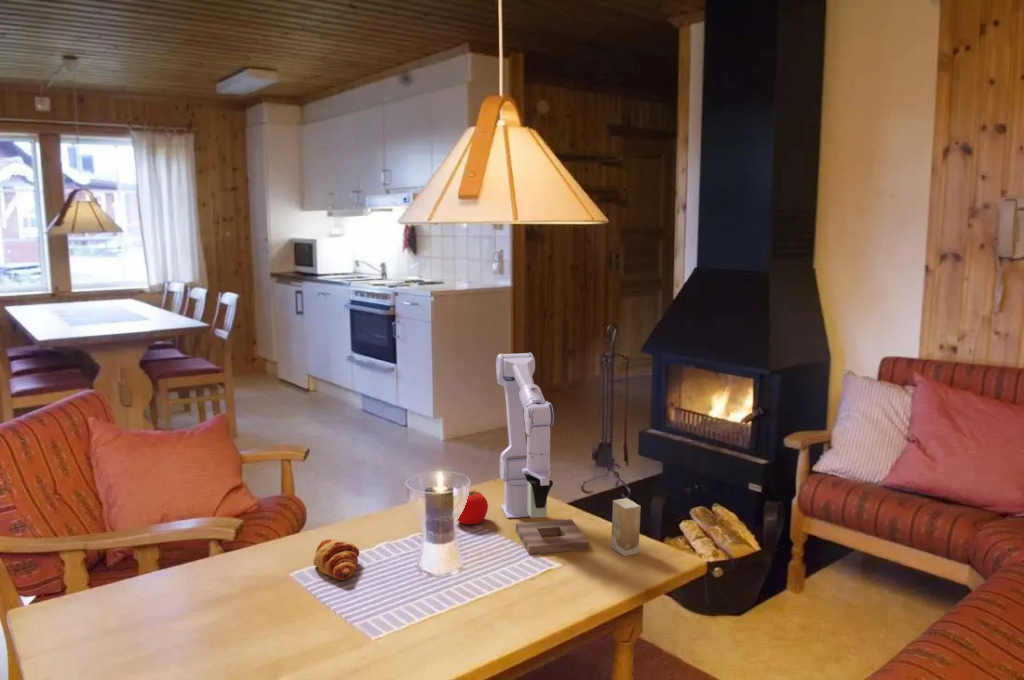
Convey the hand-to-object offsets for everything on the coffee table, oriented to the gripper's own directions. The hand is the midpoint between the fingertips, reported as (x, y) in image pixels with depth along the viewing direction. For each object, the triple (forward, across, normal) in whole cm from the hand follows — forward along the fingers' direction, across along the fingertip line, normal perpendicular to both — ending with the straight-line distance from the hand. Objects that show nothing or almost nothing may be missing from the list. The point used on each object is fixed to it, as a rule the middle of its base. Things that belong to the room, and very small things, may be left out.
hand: (538, 504), depth 196 cm
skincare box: (+10, +10, +19) cm, 24 cm away
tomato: (+10, -15, -15) cm, 23 cm away
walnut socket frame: (+9, 0, +3) cm, 10 cm away
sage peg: (+3, 0, 0) cm, 3 cm away
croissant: (+10, +6, -49) cm, 51 cm away
